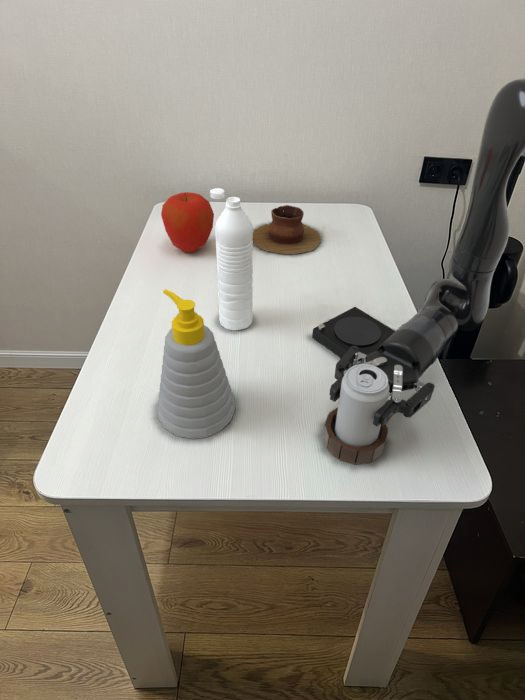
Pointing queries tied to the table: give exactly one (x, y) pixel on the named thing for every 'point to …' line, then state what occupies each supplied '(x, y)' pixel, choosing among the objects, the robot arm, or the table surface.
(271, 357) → the table surface
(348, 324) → the hot plate
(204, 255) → the table surface
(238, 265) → the water bottle
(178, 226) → the apple
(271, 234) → the ceramic pot
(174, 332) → the soap bottle
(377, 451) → the can holder
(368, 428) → the beverage can
